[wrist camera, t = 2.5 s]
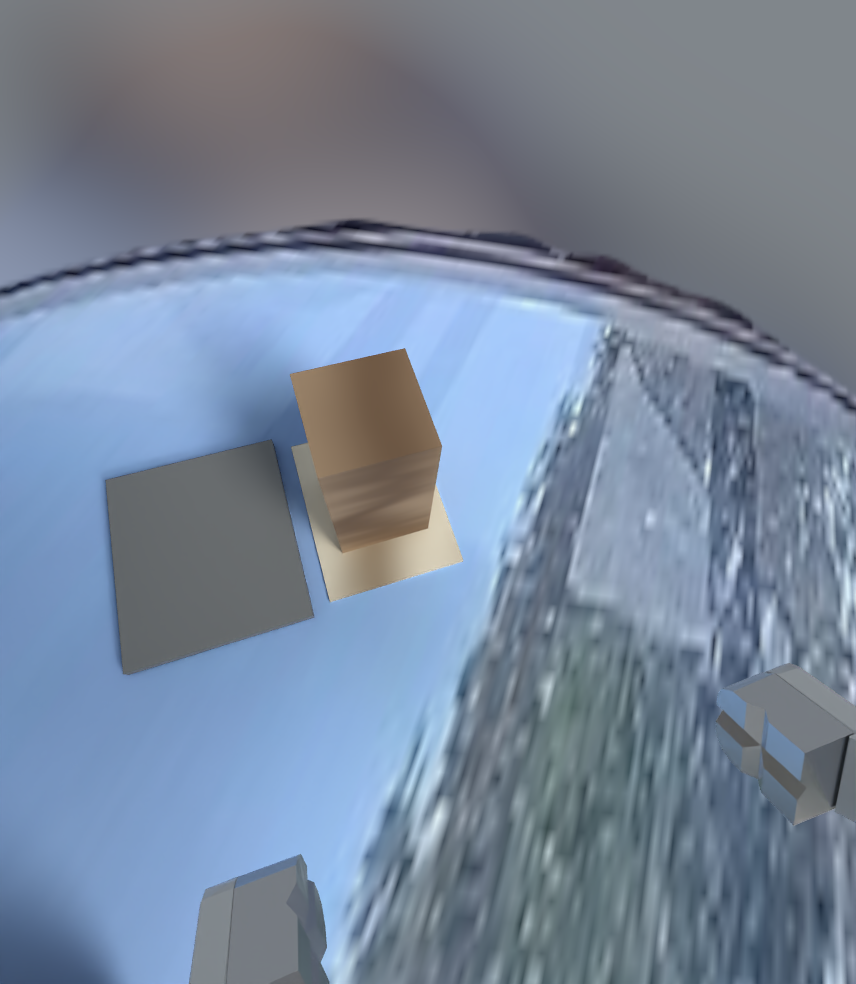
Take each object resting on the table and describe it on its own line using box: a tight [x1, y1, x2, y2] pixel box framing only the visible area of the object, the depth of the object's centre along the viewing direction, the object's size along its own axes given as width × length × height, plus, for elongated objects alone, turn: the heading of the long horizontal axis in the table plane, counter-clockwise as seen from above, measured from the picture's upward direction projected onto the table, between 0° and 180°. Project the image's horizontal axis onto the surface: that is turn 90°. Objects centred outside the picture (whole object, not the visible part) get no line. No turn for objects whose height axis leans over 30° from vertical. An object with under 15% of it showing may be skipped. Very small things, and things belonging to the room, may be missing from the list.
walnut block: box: [290, 348, 442, 553], centre depth 23 cm, size 5×5×9 cm
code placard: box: [291, 443, 463, 602], centre depth 27 cm, size 7×9×1 cm
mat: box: [106, 440, 314, 675], centre depth 26 cm, size 9×10×1 cm
